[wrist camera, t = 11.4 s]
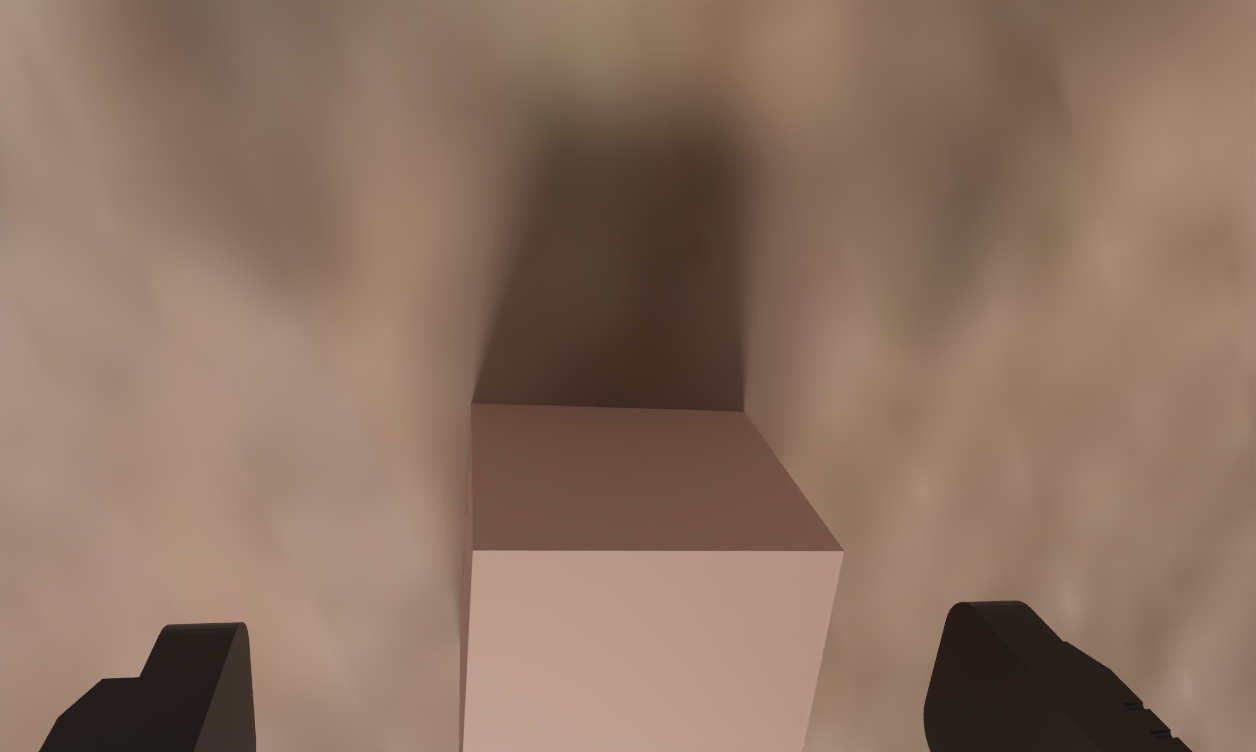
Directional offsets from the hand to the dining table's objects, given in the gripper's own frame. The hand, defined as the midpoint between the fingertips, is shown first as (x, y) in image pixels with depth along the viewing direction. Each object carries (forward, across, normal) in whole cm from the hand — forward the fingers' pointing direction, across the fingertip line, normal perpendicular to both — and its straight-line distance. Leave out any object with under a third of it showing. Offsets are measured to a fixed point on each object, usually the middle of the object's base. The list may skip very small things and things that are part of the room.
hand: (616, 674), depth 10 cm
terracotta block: (+4, 0, 0) cm, 4 cm away
